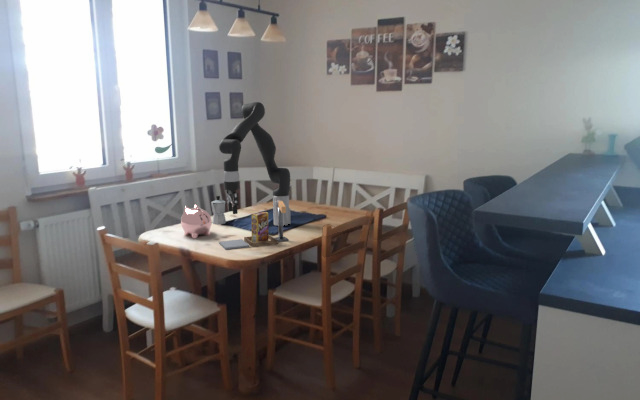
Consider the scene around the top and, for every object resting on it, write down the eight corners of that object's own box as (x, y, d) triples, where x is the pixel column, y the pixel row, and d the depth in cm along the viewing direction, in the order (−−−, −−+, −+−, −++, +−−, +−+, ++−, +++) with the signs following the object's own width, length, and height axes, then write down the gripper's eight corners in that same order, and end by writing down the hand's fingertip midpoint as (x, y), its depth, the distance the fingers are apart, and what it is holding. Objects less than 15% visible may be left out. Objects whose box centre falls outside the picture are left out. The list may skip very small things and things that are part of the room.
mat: (241, 241, 263) (241, 239, 262) (249, 247, 250) (249, 245, 250) (219, 243, 258) (218, 241, 258) (225, 249, 245) (225, 247, 245)
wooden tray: (269, 238, 268) (269, 234, 268) (277, 243, 256) (277, 240, 256) (244, 240, 263) (244, 237, 263) (251, 246, 251) (251, 242, 250)
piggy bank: (200, 230, 288) (198, 203, 286) (217, 235, 276) (216, 206, 273) (175, 235, 278) (174, 206, 275) (192, 240, 265) (191, 210, 263)
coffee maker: (220, 228, 294) (219, 197, 291) (207, 227, 297) (205, 197, 294) (232, 223, 308) (231, 194, 305) (220, 222, 311) (218, 193, 308)
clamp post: (284, 238, 268) (283, 205, 265) (288, 240, 262) (287, 207, 260) (273, 239, 265) (272, 206, 263) (277, 242, 260) (276, 208, 257)
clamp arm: (276, 205, 262) (276, 200, 262) (283, 205, 263) (282, 199, 262) (280, 212, 242) (280, 206, 242) (287, 212, 243) (287, 206, 242)
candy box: (257, 244, 255) (256, 215, 252) (251, 243, 257) (250, 214, 255) (269, 241, 262) (268, 212, 260) (262, 240, 264) (262, 211, 262)
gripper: (242, 181, 244) (244, 214, 246) (235, 178, 256) (236, 209, 259) (227, 182, 241) (229, 215, 243) (220, 179, 253) (222, 210, 256)
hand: (233, 212), depth 251 cm, fingers open, 8 cm apart
